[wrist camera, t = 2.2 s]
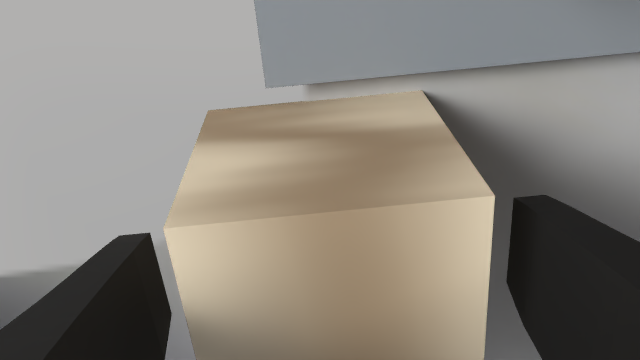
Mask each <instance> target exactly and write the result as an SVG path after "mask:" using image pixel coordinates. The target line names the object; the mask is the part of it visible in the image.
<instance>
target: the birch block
mask: <svg viewBox="0 0 640 360" xmlns="http://www.w3.org/2000/svg"><path fill="white" fill-rule="evenodd" d="M494 202H495V195H494V194H493V192H492V191H491V189H490V188H489V186H488V185H487V184H486V182H485V181H484V179H483V178H482V176H481V175H480V173H479V172H478V171H477V169H476V168H475V166H474V165H473V163H472V162H471V161H470V159H469V158H468V156H467V155H466V153H465V152H464V150H463V149H462V148H461V146H460V145H459V143H458V142H457V140H456V139H455V137H454V136H453V135H452V133H451V132H450V130H449V129H448V127H447V126H446V125H445V123H444V122H443V120H442V119H441V117H440V116H439V114H438V113H437V112H436V110H435V109H434V107H433V106H432V104H431V103H430V102H429V100H428V99H427V97H426V96H425V94H424V93H423V91H422V90H421V91H411V92H401V93H391V94H380V95H370V96H360V97H350V98H339V99H329V100H319V101H309V102H305V101H298V102H288V103H278V104H268V105H258V106H247V107H237V108H227V109H216V110H208V112H207V115H206V118H205V120H204V123H203V125H202V128H201V131H200V133H199V136H198V139H197V142H196V144H195V146H194V149H193V152H192V155H191V157H190V160H189V162H188V165H187V167H186V170H185V173H184V175H183V178H182V181H181V183H180V186H179V189H178V191H177V194H176V197H175V199H174V202H173V204H172V207H171V210H170V212H169V215H168V217H167V220H166V223H165V225H164V228H163V230H164V234H165V238H166V242H167V246H168V249H169V253H170V257H171V261H172V265H173V269H174V273H175V277H176V281H177V285H178V289H179V293H180V297H181V301H182V305H183V309H184V313H185V317H186V321H187V325H188V329H189V333H190V337H191V341H192V345H193V348H194V352H195V356H196V360H484V350H485V335H486V320H487V306H488V291H489V276H490V261H491V246H492V231H493V217H494Z"/></svg>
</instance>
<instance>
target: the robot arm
mask: <svg viewBox="0 0 640 360" xmlns="http://www.w3.org/2000/svg"><path fill="white" fill-rule="evenodd" d="M507 284H508V287H509V290H510V292H511V295H512V298H513V300H514V303H515V306H516V308H517V310H518V313H519V315H520V318H521V320H522V323H523V325H524V327H525V329H526V331H527V332H528V334H529V336H530V338H531V340H532V342H533V343H534V345H535V347H536V349H537V351H538V352H539V354H540V356H541V358H542V360H640V242H638V241H636V240H634V239H632V238H630V237H628V236H626V235H624V234H622V233H620V232H618V231H616V230H614V229H613V228H611V227H609V226H607V225H605V224H603V223H601V222H599V221H597V220H595V219H593V218H591V217H589V216H588V215H586V214H584V213H582V212H580V211H578V210H576V209H574V208H572V207H570V206H568V205H566V204H564V203H562V202H560V201H558V200H556V199H553V198H551V197H549V196H546V195H539V196H529V197H518V198H514V201H513V212H512V224H511V236H510V247H509V259H508V271H507ZM170 321H171V310H170V306H169V302H168V298H167V295H166V291H165V287H164V283H163V280H162V276H161V272H160V268H159V265H158V261H157V257H156V253H155V250H154V246H153V242H152V238H151V235H150V233H142V234H132V235H123V236H118V237H117V238H116V239H114V240H112V241H111V242H110V243H109V244H107V245H106V246H105V247H104V248H102V249H101V250H100V251H99V252H97V253H96V254H95V255H94V256H93V257H91V258H90V259H89V260H88V261H87V262H85V263H84V264H83V265H82V266H81V267H79V268H78V269H77V270H76V271H75V272H73V273H72V274H71V275H70V276H69V277H67V278H66V279H65V280H64V281H62V282H61V283H60V284H59V285H58V286H56V287H55V288H54V289H53V290H52V291H50V292H49V293H48V294H47V295H46V296H44V297H43V298H42V299H40V300H39V301H38V302H36V303H35V304H34V305H33V306H31V307H30V308H29V309H27V310H26V311H25V312H23V313H22V314H21V315H19V316H18V317H17V318H16V319H14V320H13V321H12V322H10V323H9V324H8V325H6V326H5V327H4V328H2V329H1V330H0V360H164V359H165V353H166V347H167V341H168V335H169V328H170Z"/></svg>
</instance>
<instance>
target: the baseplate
mask: <svg viewBox="0 0 640 360" xmlns="http://www.w3.org/2000/svg"><path fill="white" fill-rule="evenodd" d="M254 4H255V11H256V19H257V26H258V34H259V41H260V48H261V56H262V63H263V71H264V78H265V86H266V88H273V87H284V86H294V85H305V84H315V83H325V82H335V81H346V80H356V79H366V78H376V77H387V76H397V75H407V74H418V73H428V72H438V71H448V70H459V69H469V68H479V67H489V66H500V65H510V64H520V63H530V62H541V61H551V60H561V59H572V58H582V57H592V56H602V55H613V54H623V53H633V52H640V0H254Z"/></svg>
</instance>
